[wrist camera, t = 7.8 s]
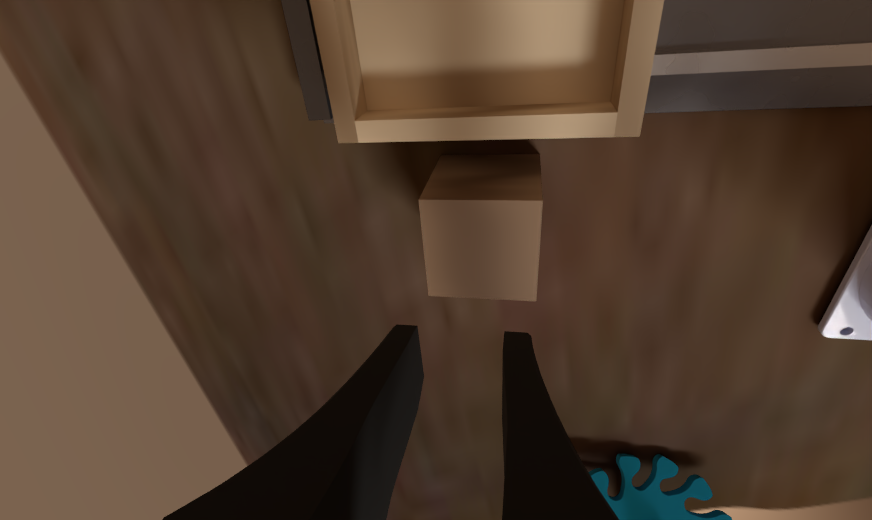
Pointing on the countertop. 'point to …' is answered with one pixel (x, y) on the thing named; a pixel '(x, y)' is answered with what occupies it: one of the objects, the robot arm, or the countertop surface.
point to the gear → (654, 492)
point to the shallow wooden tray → (486, 68)
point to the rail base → (707, 55)
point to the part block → (483, 226)
